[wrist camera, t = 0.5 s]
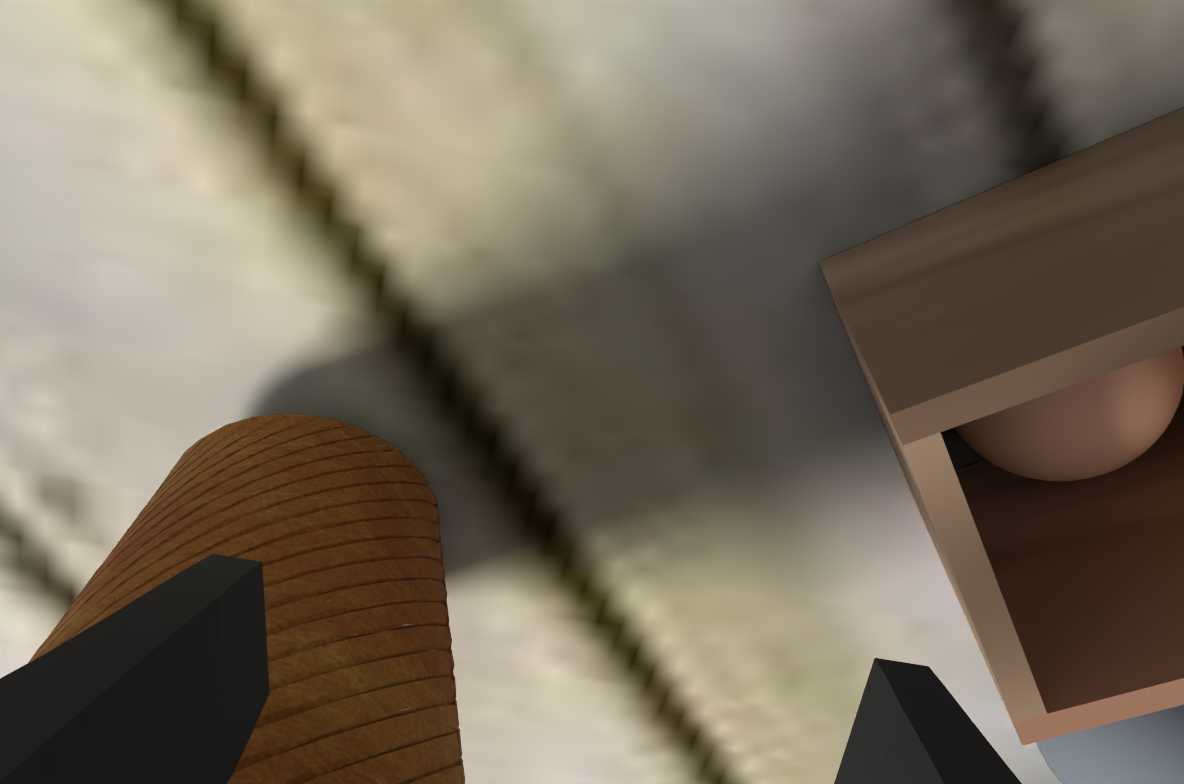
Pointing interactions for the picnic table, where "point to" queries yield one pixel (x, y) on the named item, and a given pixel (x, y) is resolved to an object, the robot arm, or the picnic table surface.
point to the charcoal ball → (1121, 751)
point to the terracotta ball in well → (1083, 423)
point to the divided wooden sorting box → (1024, 372)
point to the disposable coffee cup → (312, 595)
